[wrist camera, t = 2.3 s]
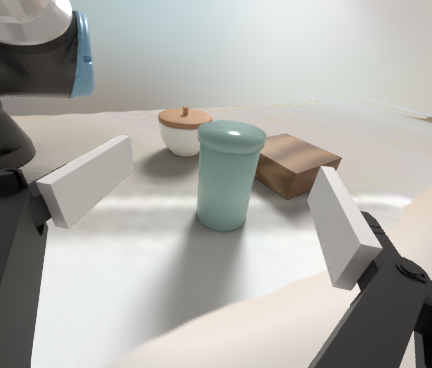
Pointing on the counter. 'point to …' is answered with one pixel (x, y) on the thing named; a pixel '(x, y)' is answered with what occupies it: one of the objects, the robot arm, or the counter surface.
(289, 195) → the slab
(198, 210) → the canister
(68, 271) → the counter surface
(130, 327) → the counter surface
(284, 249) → the counter surface
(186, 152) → the lidded jar
